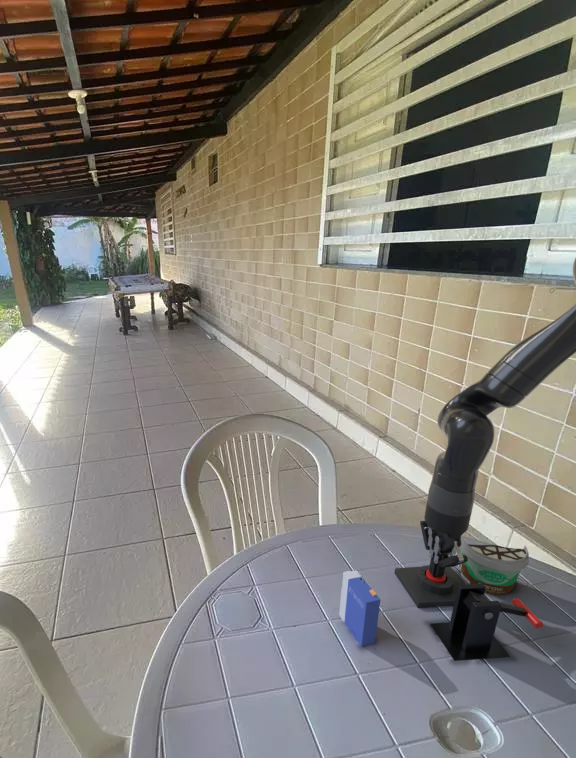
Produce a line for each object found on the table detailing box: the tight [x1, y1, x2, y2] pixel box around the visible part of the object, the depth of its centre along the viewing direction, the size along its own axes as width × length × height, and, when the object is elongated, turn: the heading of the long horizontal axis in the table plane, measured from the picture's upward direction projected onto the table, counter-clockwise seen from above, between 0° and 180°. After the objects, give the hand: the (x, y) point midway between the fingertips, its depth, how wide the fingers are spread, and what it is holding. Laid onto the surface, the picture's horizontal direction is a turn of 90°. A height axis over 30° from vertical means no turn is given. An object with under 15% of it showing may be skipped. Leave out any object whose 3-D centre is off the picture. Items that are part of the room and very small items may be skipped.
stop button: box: [426, 569, 446, 584], centre depth 88 cm, size 4×4×2 cm
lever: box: [463, 591, 544, 629], centre depth 74 cm, size 12×6×2 cm, turn 91°
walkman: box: [338, 569, 381, 648], centre depth 79 cm, size 8×3×12 cm, turn 11°
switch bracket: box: [428, 583, 512, 662], centre depth 75 cm, size 10×8×12 cm
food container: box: [459, 539, 530, 596], centre depth 87 cm, size 12×6×10 cm, turn 76°
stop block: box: [393, 564, 467, 609], centre depth 89 cm, size 12×10×4 cm
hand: (435, 574), depth 88 cm, fingers closed
